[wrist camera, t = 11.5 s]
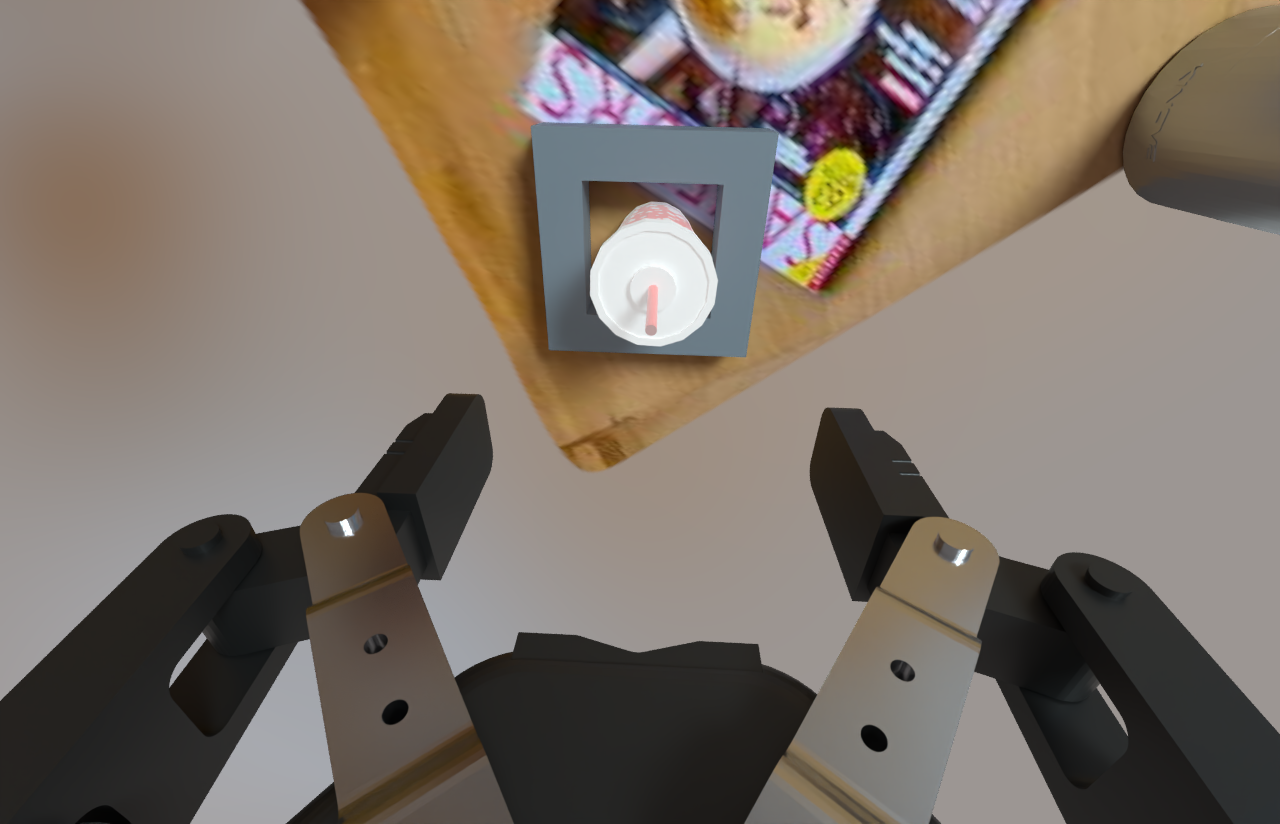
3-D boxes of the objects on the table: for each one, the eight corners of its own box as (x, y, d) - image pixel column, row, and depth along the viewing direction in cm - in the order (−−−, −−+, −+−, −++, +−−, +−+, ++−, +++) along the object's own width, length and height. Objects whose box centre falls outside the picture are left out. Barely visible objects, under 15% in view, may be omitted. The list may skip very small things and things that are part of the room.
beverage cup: (675, 166, 30) (683, 219, 18) (721, 258, 33) (754, 357, 21) (587, 221, 32) (542, 301, 20) (638, 304, 34) (624, 419, 23)
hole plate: (768, 128, 29) (778, 132, 26) (740, 337, 35) (745, 357, 33) (542, 122, 29) (530, 125, 26) (557, 331, 36) (548, 350, 33)
